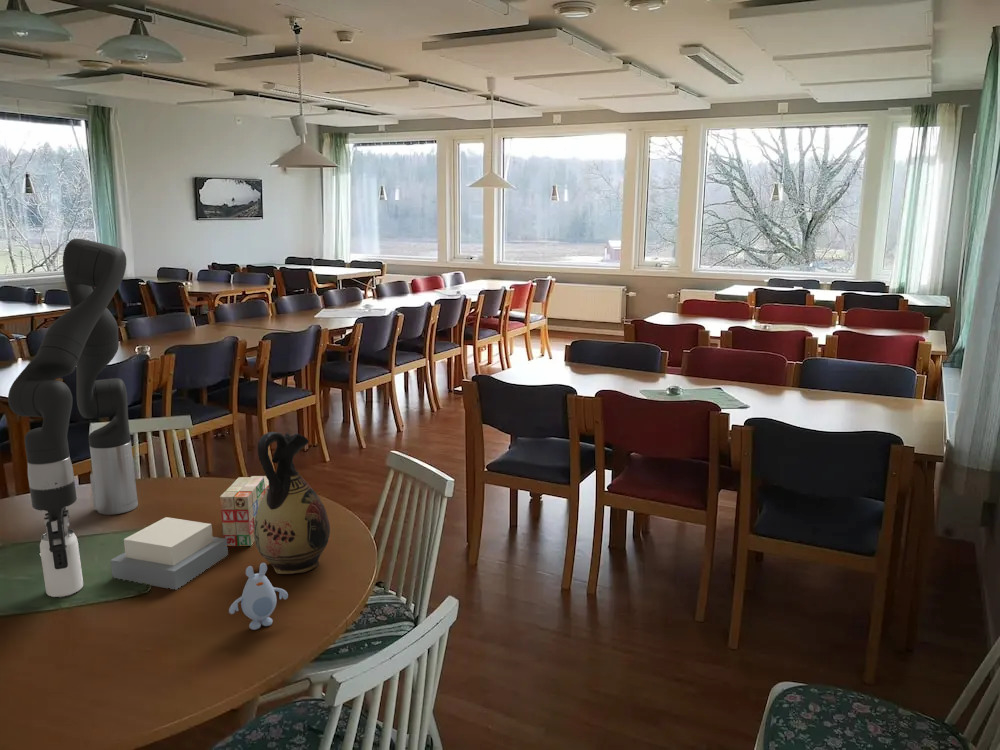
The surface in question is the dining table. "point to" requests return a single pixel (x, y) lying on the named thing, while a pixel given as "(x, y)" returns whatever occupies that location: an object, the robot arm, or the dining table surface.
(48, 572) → the can
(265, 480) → the stack of blocks
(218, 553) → the tower base
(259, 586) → the toy figure
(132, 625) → the dining table surface
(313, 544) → the ceramic jug
